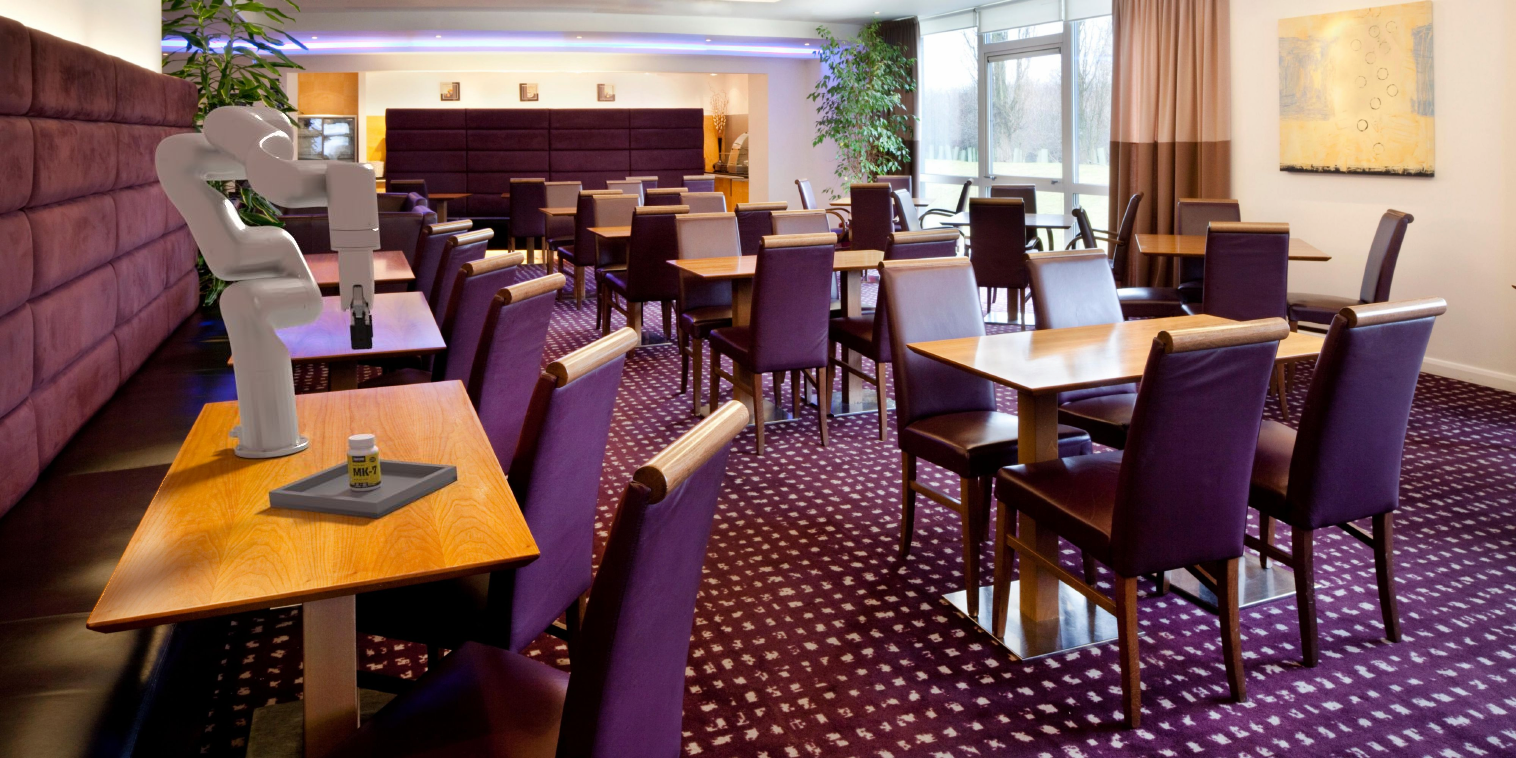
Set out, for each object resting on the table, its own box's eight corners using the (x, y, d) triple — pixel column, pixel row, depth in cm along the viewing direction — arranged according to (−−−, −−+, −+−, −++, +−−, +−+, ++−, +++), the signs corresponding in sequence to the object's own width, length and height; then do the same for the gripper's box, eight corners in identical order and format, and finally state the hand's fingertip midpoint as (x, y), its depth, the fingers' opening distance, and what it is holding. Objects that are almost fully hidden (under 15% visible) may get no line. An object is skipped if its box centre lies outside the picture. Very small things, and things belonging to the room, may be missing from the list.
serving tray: (270, 506, 163) (268, 491, 162) (358, 470, 181) (356, 457, 181) (377, 518, 156) (376, 502, 156) (457, 479, 175) (456, 465, 174)
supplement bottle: (351, 493, 165) (346, 441, 164) (348, 486, 170) (343, 435, 168) (383, 489, 168) (379, 437, 166) (379, 481, 172) (374, 431, 170)
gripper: (332, 235, 178) (340, 335, 182) (327, 245, 162) (336, 354, 166) (380, 235, 180) (386, 333, 184) (379, 244, 164) (386, 352, 168)
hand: (362, 343), depth 175 cm, fingers open, 9 cm apart
